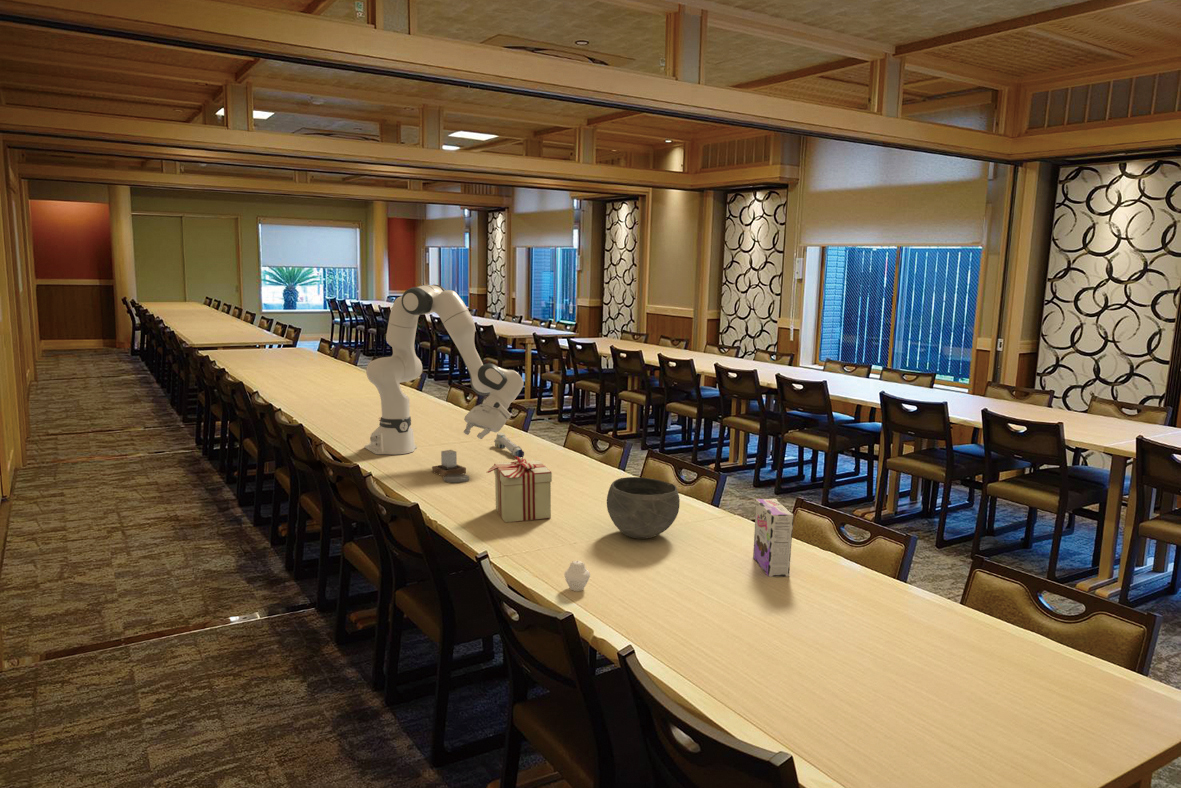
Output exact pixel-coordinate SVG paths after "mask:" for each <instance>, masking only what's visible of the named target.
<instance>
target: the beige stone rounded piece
mask: <svg viewBox="0 0 1181 788" xmlns="http://www.w3.org/2000/svg"><path fill="white" fill-rule="evenodd" d="M585 565H586V564H585V563H584V562H583V561H581V560H574V561H572V562H571V563H570V564H569V566H568V568H567V569H566V570H565V571H564V579H565V582H566V583H567V586H568V587H569V589H570V591H573V592H582V591H583V590H585V587H586V586H587V584H588V582H589V580H590V578H591V574H590V571H589V570H588V569H587V568H586V566H585Z"/></svg>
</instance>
